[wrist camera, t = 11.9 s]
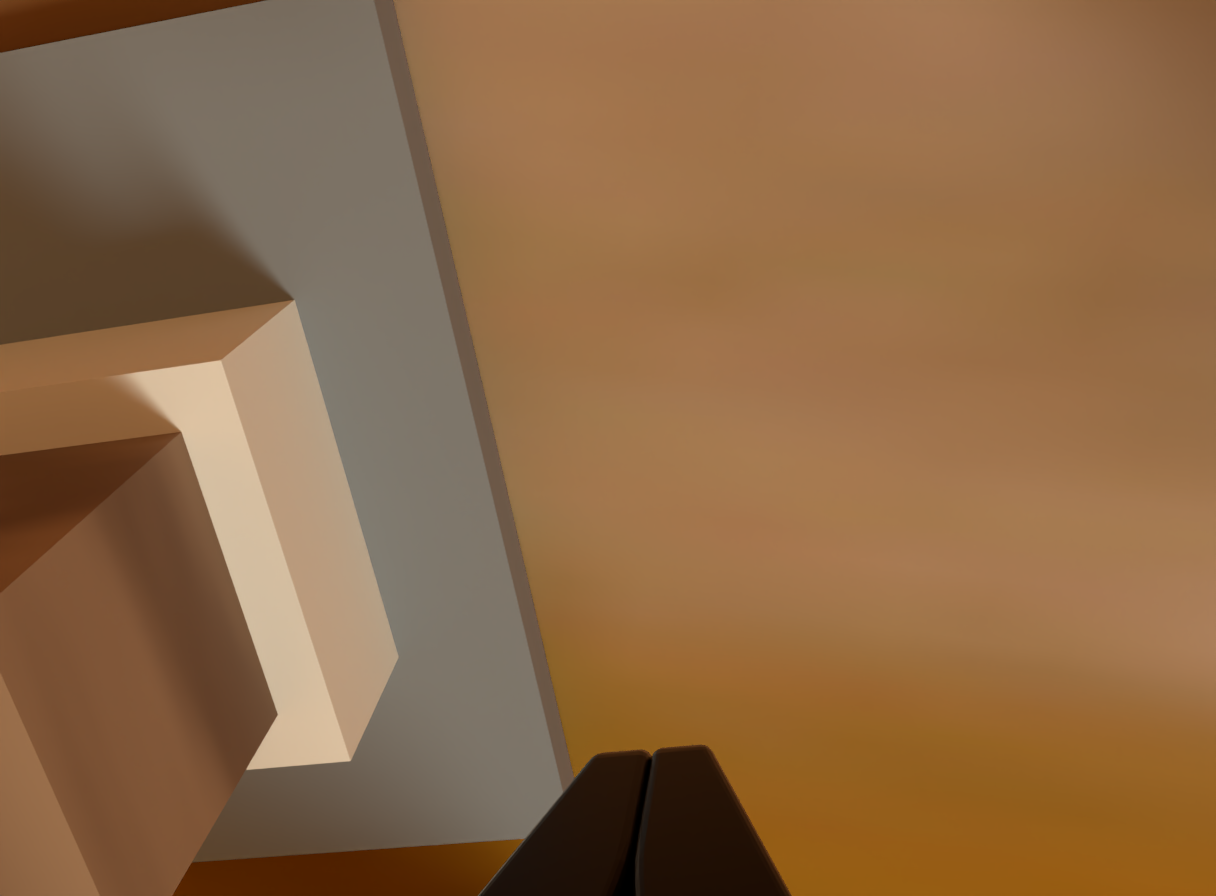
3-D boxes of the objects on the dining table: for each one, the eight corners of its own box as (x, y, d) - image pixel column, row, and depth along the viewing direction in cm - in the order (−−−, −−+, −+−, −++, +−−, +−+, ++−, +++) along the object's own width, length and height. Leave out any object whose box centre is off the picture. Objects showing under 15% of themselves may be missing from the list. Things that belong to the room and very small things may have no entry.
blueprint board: (387, -22, 18) (298, -14, 14) (579, 800, 24) (552, 956, 20) (-282, 109, 20) (-515, 148, 16) (54, 840, 26) (-57, 989, 22)
